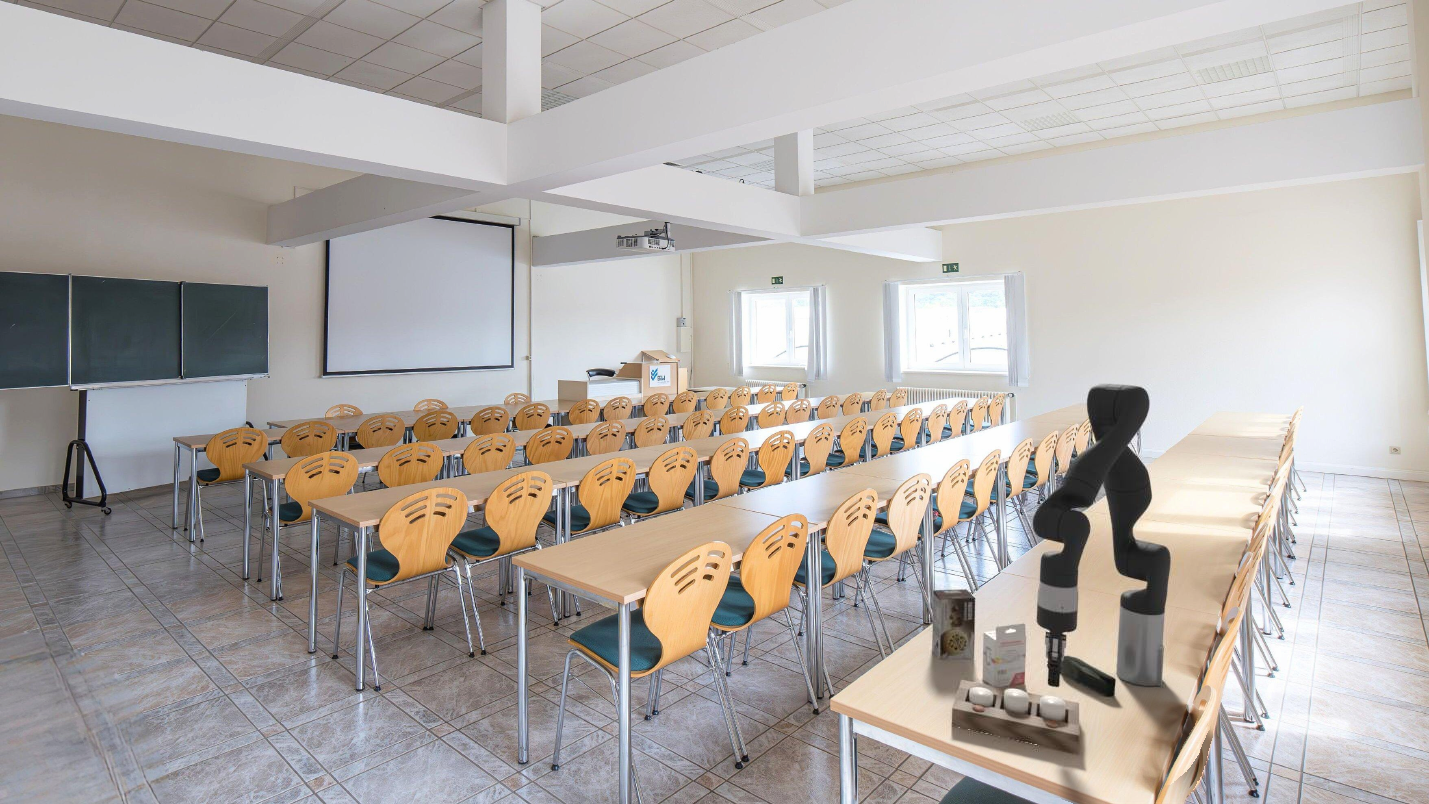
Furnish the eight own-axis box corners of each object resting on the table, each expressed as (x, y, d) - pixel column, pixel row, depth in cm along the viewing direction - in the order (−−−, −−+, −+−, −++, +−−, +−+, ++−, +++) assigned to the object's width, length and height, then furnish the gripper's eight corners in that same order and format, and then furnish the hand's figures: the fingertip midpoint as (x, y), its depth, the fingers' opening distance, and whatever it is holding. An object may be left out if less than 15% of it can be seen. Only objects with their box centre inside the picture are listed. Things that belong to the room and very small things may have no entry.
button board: (1078, 720, 157) (1079, 702, 157) (1078, 754, 145) (1079, 734, 144) (960, 696, 168) (961, 678, 167) (951, 726, 155) (952, 707, 155)
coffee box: (965, 648, 193) (967, 588, 191) (974, 659, 186) (976, 597, 185) (930, 649, 192) (932, 589, 191) (939, 660, 186) (940, 598, 184)
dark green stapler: (1118, 676, 167) (1061, 649, 181) (1109, 679, 166) (1053, 651, 179) (1116, 697, 168) (1060, 668, 181) (1107, 700, 167) (1051, 671, 180)
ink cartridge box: (1011, 674, 178) (1013, 615, 177) (1025, 683, 174) (1027, 623, 172) (980, 678, 176) (983, 619, 175) (994, 688, 171) (996, 627, 170)
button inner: (1064, 717, 154) (1065, 698, 153) (1064, 728, 150) (1065, 709, 149) (1039, 711, 156) (1040, 693, 156) (1038, 722, 152) (1039, 704, 151)
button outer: (993, 707, 160) (994, 690, 160) (991, 718, 156) (992, 700, 155) (970, 702, 162) (971, 685, 162) (967, 712, 158) (968, 695, 157)
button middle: (1028, 709, 157) (1029, 691, 156) (1027, 720, 153) (1028, 701, 152) (1004, 704, 159) (1005, 686, 159) (1002, 714, 155) (1003, 696, 154)
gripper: (1078, 618, 143) (1073, 703, 144) (1077, 596, 155) (1073, 675, 156) (1035, 611, 146) (1032, 695, 148) (1038, 590, 158) (1035, 668, 159)
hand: (1053, 684), depth 152 cm, fingers closed
